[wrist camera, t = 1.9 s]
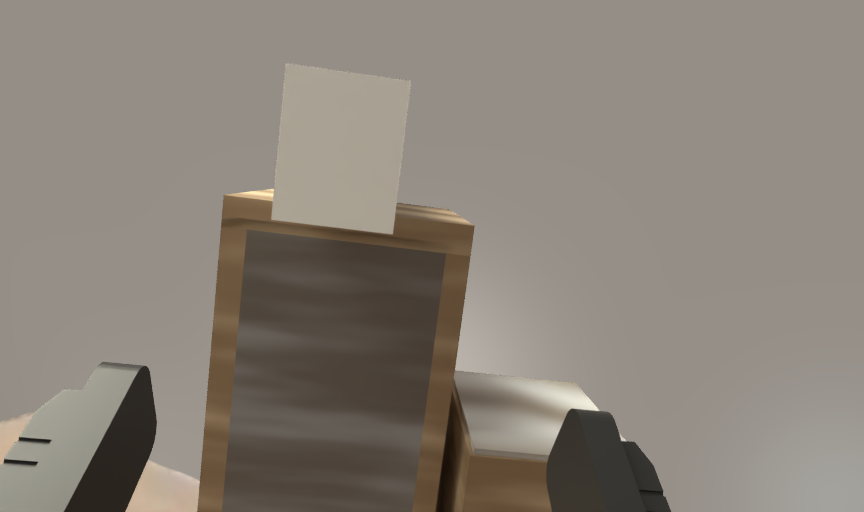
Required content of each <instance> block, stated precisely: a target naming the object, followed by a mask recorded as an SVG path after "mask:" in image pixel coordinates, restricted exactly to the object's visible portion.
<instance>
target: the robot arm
mask: <svg viewBox="0 0 864 512" xmlns="http://www.w3.org/2000/svg"><path fill="white" fill-rule="evenodd" d="M156 424H157V421H156V412H155V405H154V398H153V392H152V385H151V377H150V371H149V369H148V367H147V366H141V365H130V364H120V363H109V362H102V363H101V364H99V365H98V366H97V368H96V369H95V371H94V372H93V374H92V375H91V377H90V379H89V380H88V382H87V384H86V385H85V387H84V389H83V390H74V389H64V390H62V391H61V392H60V393H58V394H57V395H56V396H55V397H53V398H52V399H51V400H49V401H48V402H47V403H46V404H44V405H43V406H42V407H40V408H39V409H38V410H37V411H36V412H35V414H34V415H33V417H32V418H31V420H30V421H29V423H28V424H27V426H26V427H25V429H24V430H23V432H22V433H21V435H20V436H19V441H18V442H15V444H14V445H13V447H12V448H11V450H10V451H9V453H8V454H7V455H6V457H5V458H4V463H3V465H0V512H125V511H126V509H127V506H128V504H129V502H130V499H131V497H132V495H133V493H134V490H135V488H136V486H137V483H138V481H139V479H140V477H141V474H142V472H143V470H144V467H145V465H146V463H147V461H148V458H149V456H150V453H151V451H152V448H153V444H154V440H155V435H156V426H157V425H156ZM546 482H547V489H548V494H549V499H550V504H551V509H552V512H671V510H670V508H669V505H668V503H667V500H666V497H664V496H663V489H662V487H661V484H660V482H659V479H658V476H657V474H656V471H655V469H654V466H653V465H652V463H651V462H650V461H649V459H648V458H647V457H646V456H645V454H644V453H643V452H642V451H641V449H640V448H639V447H638V446H637V445H636V443H635V442H628V441H622V440H621V438H620V435H619V432H618V429H617V426H616V423H615V420H614V418H613V416H612V415H611V414H610V413H609V412H604V411H593V410H583V409H573V408H572V409H570V410H569V411H568V412H567V414H566V417H565V419H564V421H563V424H562V426H561V428H560V431H559V433H558V435H557V438H556V440H555V442H554V445H553V447H552V450H551V452H550V454H549V457H548V461H547V469H546Z"/></svg>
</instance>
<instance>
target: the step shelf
mask: <svg viewBox="0 0 864 512" xmlns="http://www.w3.org/2000/svg"><path fill="white" fill-rule="evenodd" d="M273 194H274V189H269V190H260V191H253V192H244V193H236V194H227V195H224V200H223V211H222V223H221V235H220V247H219V260H218V271H217V283H216V295H215V307H214V320H213V332H212V344H211V356H210V368H209V379H208V380H209V381H208V391H207V404H206V415H205V416H206V417H205V427H204V439H203V440H204V441H203V453H202V463H201V476H200V487H199V499H198V511H197V512H552V509H551V504H550V499H549V494H548V489H547V482H546V469H547V461H548V457H549V454H550V452H551V450H552V447H553V445H554V442H555V440H556V438H557V435H558V433H559V431H560V428H561V426H562V424H563V421H564V419H565V417H566V414H567V412H568V411H569V410H570V409H572V408H573V409H583V410H593V411H599V410H598V408H597V407H596V406H595V405H594V404H593V402H592V401H591V400H590V399H589V398H588V397H587V396H586V394H584V392H583V391H582V390H581V389H580V388H579V387H578V385H577V384H576V383H570V382H560V381H551V380H541V379H532V378H522V377H512V376H503V375H493V374H483V373H474V372H464V371H455V365H456V357H457V350H458V342H459V336H460V328H461V321H462V314H463V306H464V299H465V292H466V284H467V277H468V270H469V262H470V256H471V247H472V240H473V233H474V225H472V224H471V223H469V222H468V221H466V220H465V219H463V218H461V217H460V216H458V215H457V214H455V213H454V212H452V211H450V210H449V209H442V208H434V207H426V206H418V205H410V204H402V203H397V205H396V213H395V221H394V230H393V234H384V233H376V232H368V231H360V230H351V229H343V228H335V227H327V226H318V225H310V224H302V223H294V222H285V221H277V220H271V216H272V205H273ZM619 435H620V433H619ZM620 438H621V440H622V441H626V440H625V439H624V438H623V437H622V436H621V435H620Z"/></svg>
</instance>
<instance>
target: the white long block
mask: <svg viewBox="0 0 864 512" xmlns="http://www.w3.org/2000/svg"><path fill="white" fill-rule="evenodd" d="M410 88H411V81H409V80H401V79H395V78H387V77H381V76H374V75H367V74H359V73H352V72H346V71H337V70H331V69H324V68H317V67H310V66H303V65H296V64H288V63H286V67H285V78H284V88H283V99H282V109H281V120H280V131H279V141H278V152H277V162H276V173H275V184H274V194H273V205H272V216H271V220H277V221H285V222H294V223H302V224H310V225H318V226H327V227H335V228H343V229H351V230H360V231H368V232H376V233H384V234H393V230H394V221H395V213H396V205H397V195H398V188H399V180H400V171H401V163H402V154H403V146H404V138H405V129H406V121H407V113H408V104H409V96H410Z"/></svg>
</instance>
